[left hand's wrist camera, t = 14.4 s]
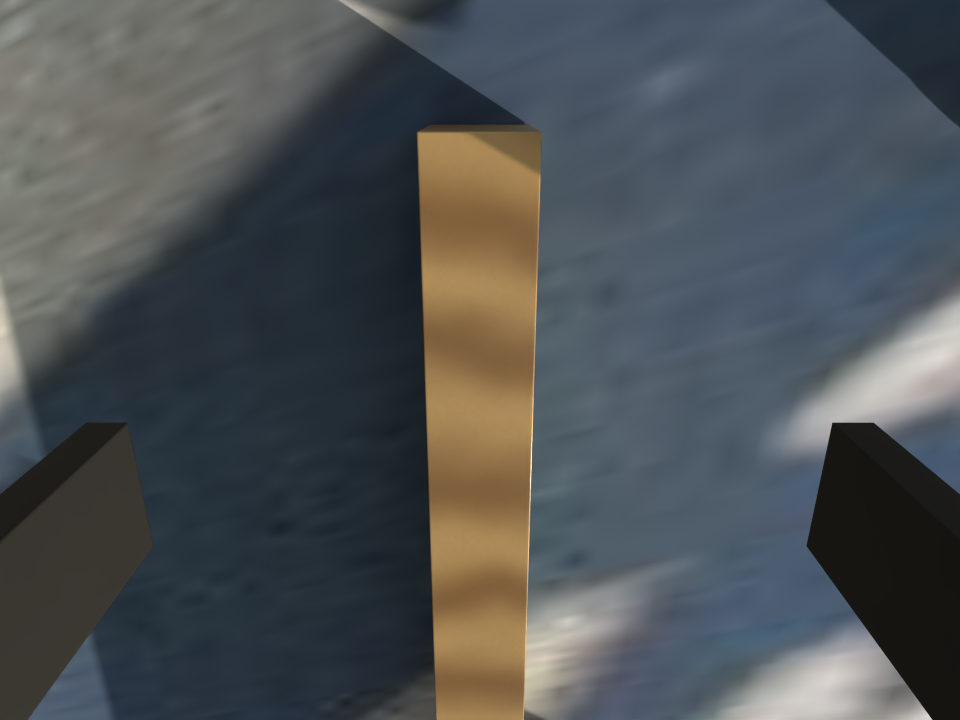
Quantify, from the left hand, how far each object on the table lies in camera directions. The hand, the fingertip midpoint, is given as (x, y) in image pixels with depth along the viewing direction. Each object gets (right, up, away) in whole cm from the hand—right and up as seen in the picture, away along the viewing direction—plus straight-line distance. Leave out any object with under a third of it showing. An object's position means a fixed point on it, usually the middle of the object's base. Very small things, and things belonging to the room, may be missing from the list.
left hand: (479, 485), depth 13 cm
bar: (0, -12, +32) cm, 34 cm away
